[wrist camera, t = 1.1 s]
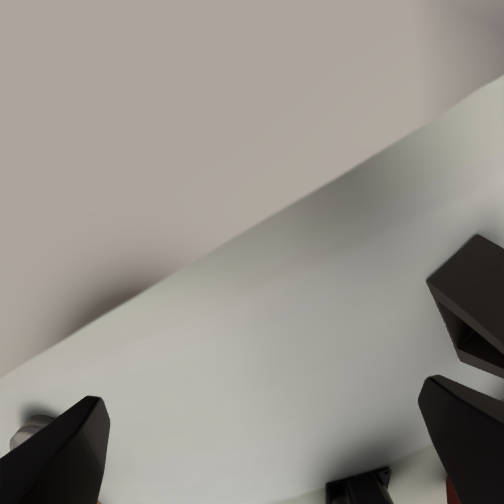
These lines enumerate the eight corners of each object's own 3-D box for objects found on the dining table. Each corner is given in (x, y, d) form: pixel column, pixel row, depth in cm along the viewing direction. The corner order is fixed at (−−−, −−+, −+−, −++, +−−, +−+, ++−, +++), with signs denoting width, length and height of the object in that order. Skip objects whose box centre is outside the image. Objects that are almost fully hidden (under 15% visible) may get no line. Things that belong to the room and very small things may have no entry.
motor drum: (116, 485, 23) (106, 508, 19) (49, 473, 23) (37, 492, 19) (79, 418, 21) (63, 442, 18) (12, 410, 21) (-5, 428, 18)
